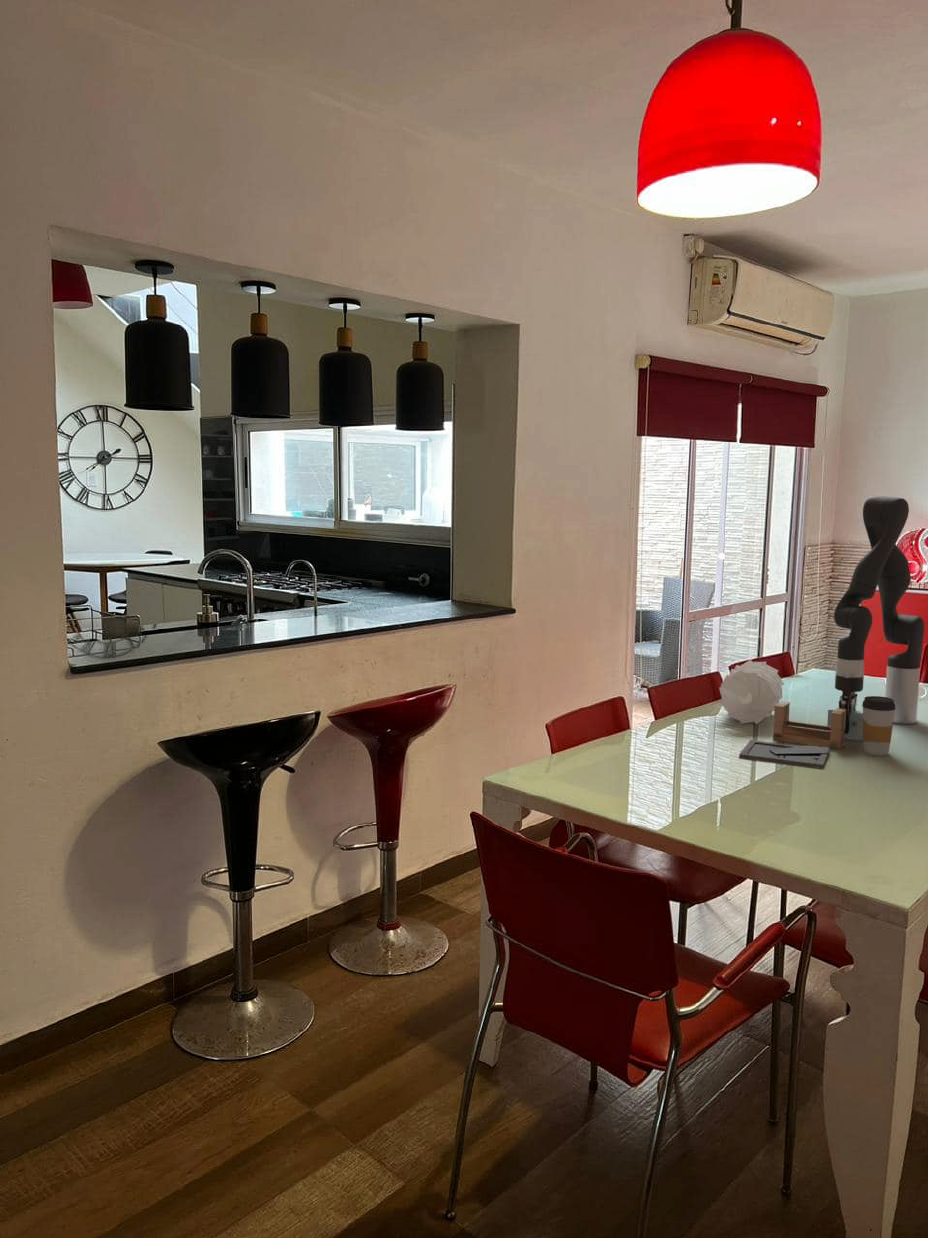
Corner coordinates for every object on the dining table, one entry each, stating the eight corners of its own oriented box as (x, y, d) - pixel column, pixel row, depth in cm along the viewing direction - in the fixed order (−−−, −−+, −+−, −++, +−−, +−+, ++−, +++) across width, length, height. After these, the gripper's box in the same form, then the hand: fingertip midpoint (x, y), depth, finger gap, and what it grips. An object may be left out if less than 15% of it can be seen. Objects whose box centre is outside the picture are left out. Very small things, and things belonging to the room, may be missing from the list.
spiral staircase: (768, 723, 296) (758, 737, 273) (719, 695, 302) (706, 707, 279) (796, 675, 291) (789, 686, 269) (746, 648, 297) (735, 656, 275)
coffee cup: (896, 757, 243) (899, 703, 241) (863, 756, 244) (866, 701, 242) (888, 749, 251) (891, 696, 249) (856, 747, 252) (859, 695, 250)
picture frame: (829, 755, 247) (750, 745, 257) (829, 747, 247) (750, 738, 257) (822, 770, 233) (739, 759, 243) (823, 763, 233) (739, 752, 243)
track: (779, 734, 267) (780, 701, 265) (844, 743, 257) (846, 709, 255) (772, 739, 261) (774, 705, 259) (839, 749, 251) (841, 714, 250)
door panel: (829, 733, 267) (830, 707, 266) (865, 738, 262) (866, 711, 261) (826, 736, 264) (827, 710, 263) (862, 741, 259) (864, 714, 258)
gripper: (841, 668, 269) (837, 724, 271) (830, 676, 257) (827, 734, 259) (868, 671, 265) (864, 728, 267) (858, 679, 253) (855, 738, 255)
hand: (846, 731), depth 263 cm, fingers open, 4 cm apart
